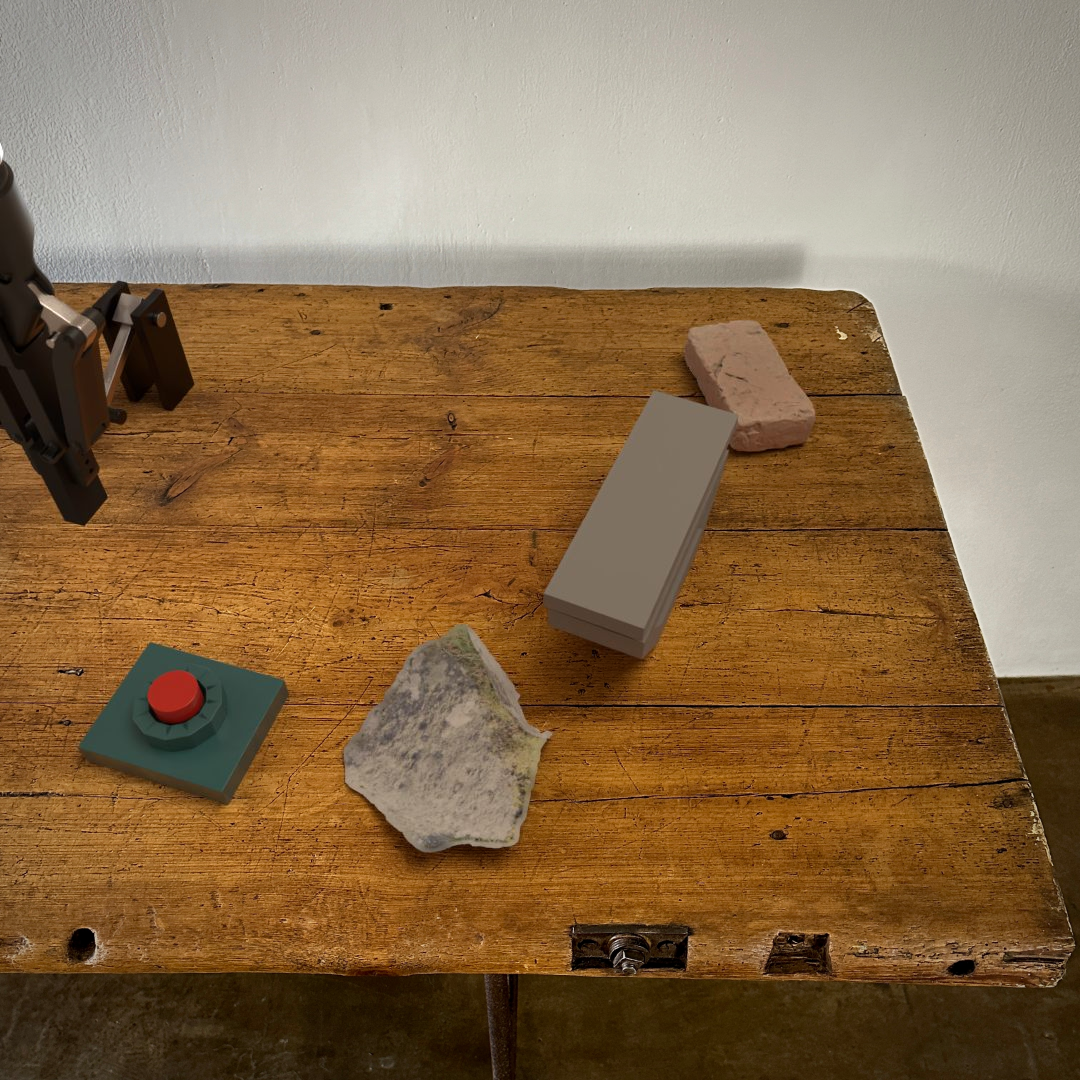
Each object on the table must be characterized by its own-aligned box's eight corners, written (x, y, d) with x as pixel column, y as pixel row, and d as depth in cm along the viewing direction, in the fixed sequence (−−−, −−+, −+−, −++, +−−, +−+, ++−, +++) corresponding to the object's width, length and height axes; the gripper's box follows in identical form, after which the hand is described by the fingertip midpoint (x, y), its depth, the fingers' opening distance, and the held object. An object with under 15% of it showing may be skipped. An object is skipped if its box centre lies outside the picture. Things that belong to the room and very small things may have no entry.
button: (144, 716, 72) (137, 704, 71) (170, 677, 75) (164, 664, 73) (187, 729, 72) (181, 717, 70) (212, 689, 74) (206, 677, 73)
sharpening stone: (641, 475, 95) (653, 390, 87) (718, 499, 93) (738, 414, 85) (540, 673, 80) (543, 593, 72) (630, 707, 78) (644, 628, 70)
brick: (678, 356, 107) (684, 321, 103) (750, 346, 108) (758, 311, 105) (732, 461, 97) (740, 426, 93) (810, 448, 98) (821, 413, 94)
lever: (127, 428, 91) (112, 420, 89) (80, 417, 92) (65, 409, 90) (168, 310, 93) (155, 299, 91) (122, 300, 94) (108, 289, 92)
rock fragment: (463, 648, 82) (461, 609, 78) (605, 772, 74) (610, 735, 70) (320, 758, 74) (309, 721, 71) (460, 907, 67) (457, 875, 63)
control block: (86, 761, 74) (68, 735, 71) (157, 656, 80) (143, 628, 77) (228, 805, 72) (216, 780, 69) (289, 694, 78) (280, 667, 75)
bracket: (173, 449, 96) (135, 345, 86) (93, 430, 98) (47, 326, 88) (232, 374, 104) (203, 271, 94) (158, 357, 105) (121, 254, 95)
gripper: (90, 163, 47) (204, 493, 65) (-133, 117, 50) (36, 448, 68) (-10, 245, 43) (142, 576, 61) (-251, 191, 45) (-36, 525, 63)
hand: (86, 508), depth 64 cm, fingers closed
